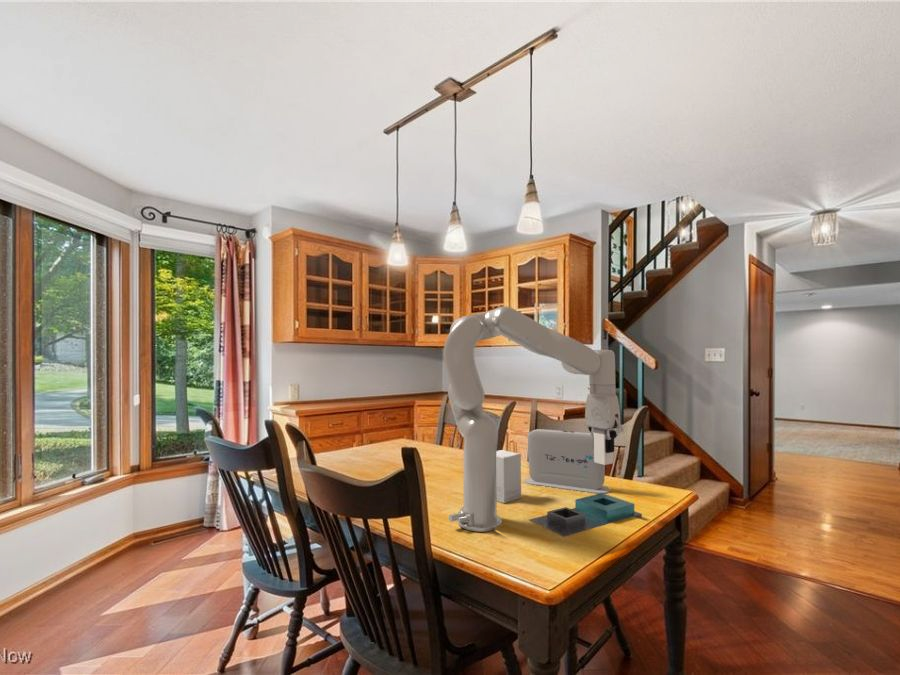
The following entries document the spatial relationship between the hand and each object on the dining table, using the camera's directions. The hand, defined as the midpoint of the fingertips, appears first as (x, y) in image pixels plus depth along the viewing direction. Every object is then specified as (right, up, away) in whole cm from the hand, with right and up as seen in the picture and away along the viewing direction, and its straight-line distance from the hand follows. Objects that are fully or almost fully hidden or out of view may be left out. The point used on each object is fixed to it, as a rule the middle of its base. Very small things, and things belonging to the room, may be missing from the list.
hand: (603, 450), depth 138 cm
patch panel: (-7, -19, -5) cm, 21 cm away
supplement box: (-29, -20, +16) cm, 39 cm away
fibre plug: (0, -4, 0) cm, 4 cm away
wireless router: (-4, -21, +30) cm, 36 cm away
